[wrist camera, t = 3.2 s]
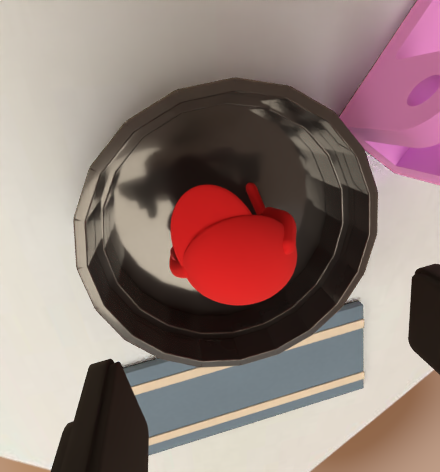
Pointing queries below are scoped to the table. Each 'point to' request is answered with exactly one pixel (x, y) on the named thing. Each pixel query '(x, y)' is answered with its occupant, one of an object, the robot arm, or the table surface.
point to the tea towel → (248, 384)
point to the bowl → (235, 180)
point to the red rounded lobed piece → (231, 245)
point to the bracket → (403, 99)
